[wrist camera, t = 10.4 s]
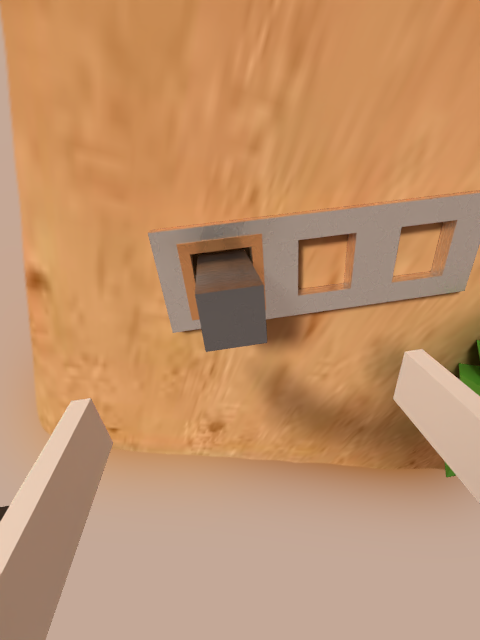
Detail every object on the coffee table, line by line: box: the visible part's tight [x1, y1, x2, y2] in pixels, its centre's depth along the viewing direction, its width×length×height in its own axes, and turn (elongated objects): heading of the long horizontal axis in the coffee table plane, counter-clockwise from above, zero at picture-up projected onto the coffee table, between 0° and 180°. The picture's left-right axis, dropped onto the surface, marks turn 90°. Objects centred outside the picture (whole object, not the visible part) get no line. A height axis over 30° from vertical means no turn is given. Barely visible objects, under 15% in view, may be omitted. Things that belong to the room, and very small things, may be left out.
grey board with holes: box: [148, 190, 480, 333], centre depth 27 cm, size 10×32×2 cm, turn 96°
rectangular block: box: [195, 249, 267, 352], centre depth 23 cm, size 4×4×10 cm
